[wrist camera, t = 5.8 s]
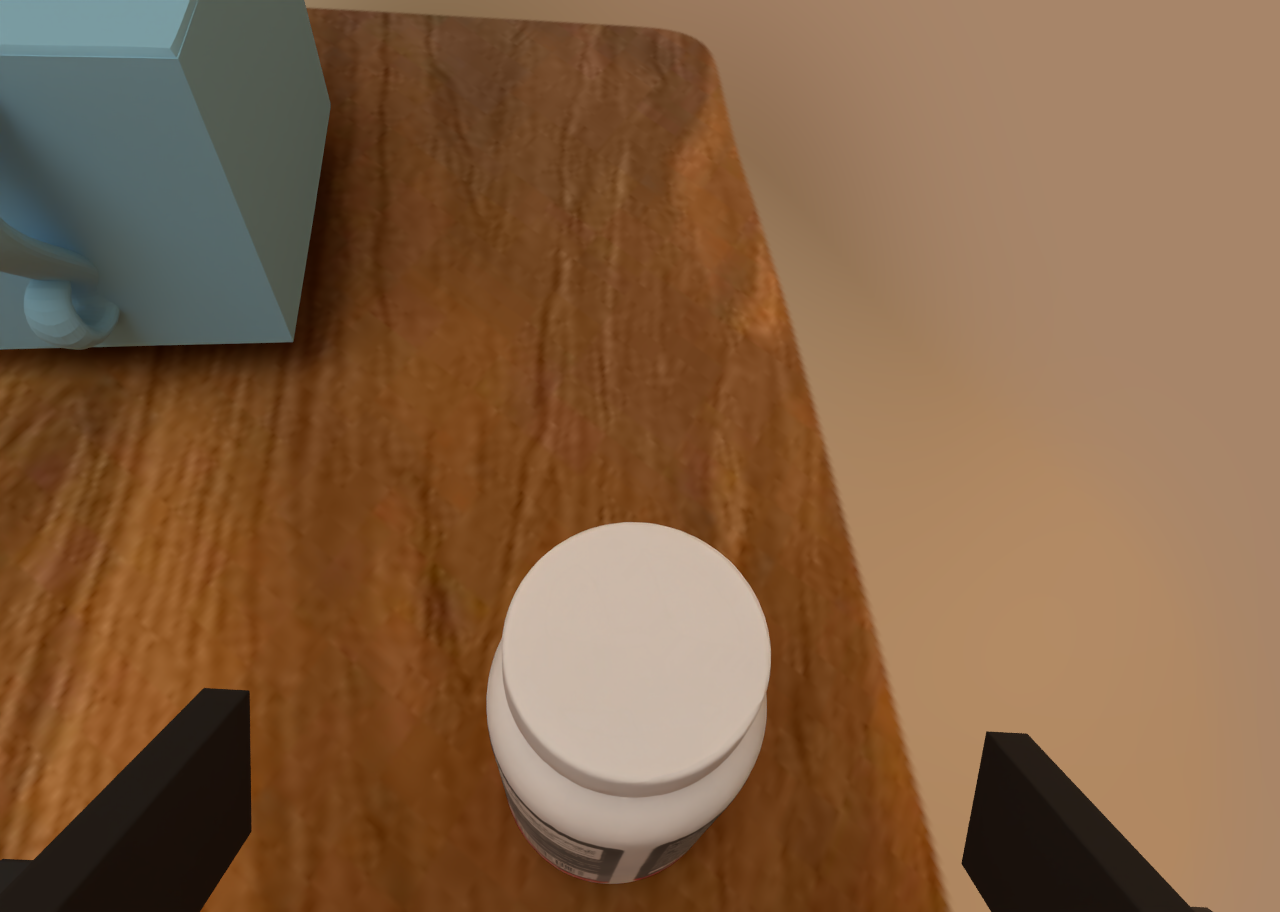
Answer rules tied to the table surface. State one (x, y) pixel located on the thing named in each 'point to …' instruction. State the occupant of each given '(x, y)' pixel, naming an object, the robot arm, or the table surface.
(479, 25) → the table surface
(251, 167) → the teapot
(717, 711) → the pill bottle
